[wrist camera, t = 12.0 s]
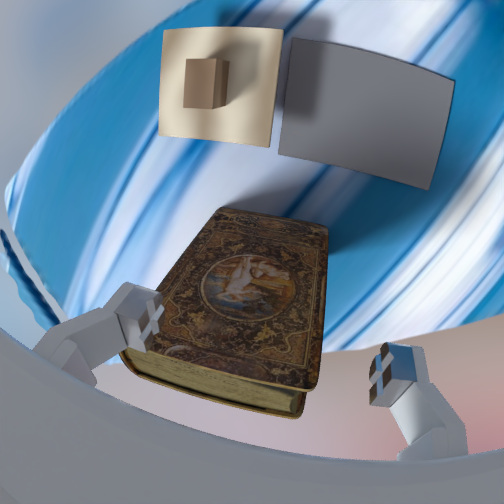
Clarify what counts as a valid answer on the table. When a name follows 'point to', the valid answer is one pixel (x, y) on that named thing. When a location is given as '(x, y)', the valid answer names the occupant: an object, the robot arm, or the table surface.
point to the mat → (364, 112)
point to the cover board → (241, 86)
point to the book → (243, 314)
